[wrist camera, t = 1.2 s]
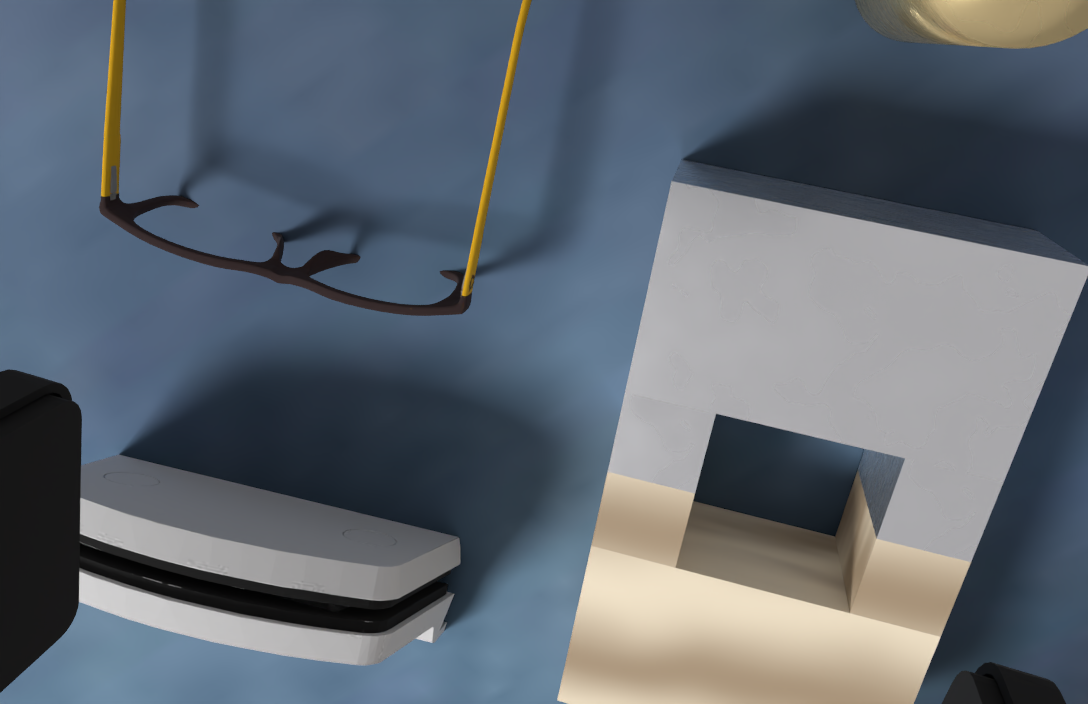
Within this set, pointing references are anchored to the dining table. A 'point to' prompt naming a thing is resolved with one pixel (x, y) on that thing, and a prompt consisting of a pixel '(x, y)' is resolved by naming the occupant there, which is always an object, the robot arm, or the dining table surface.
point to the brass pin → (977, 21)
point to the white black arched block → (257, 565)
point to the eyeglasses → (273, 267)
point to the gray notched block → (847, 342)
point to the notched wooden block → (750, 607)
